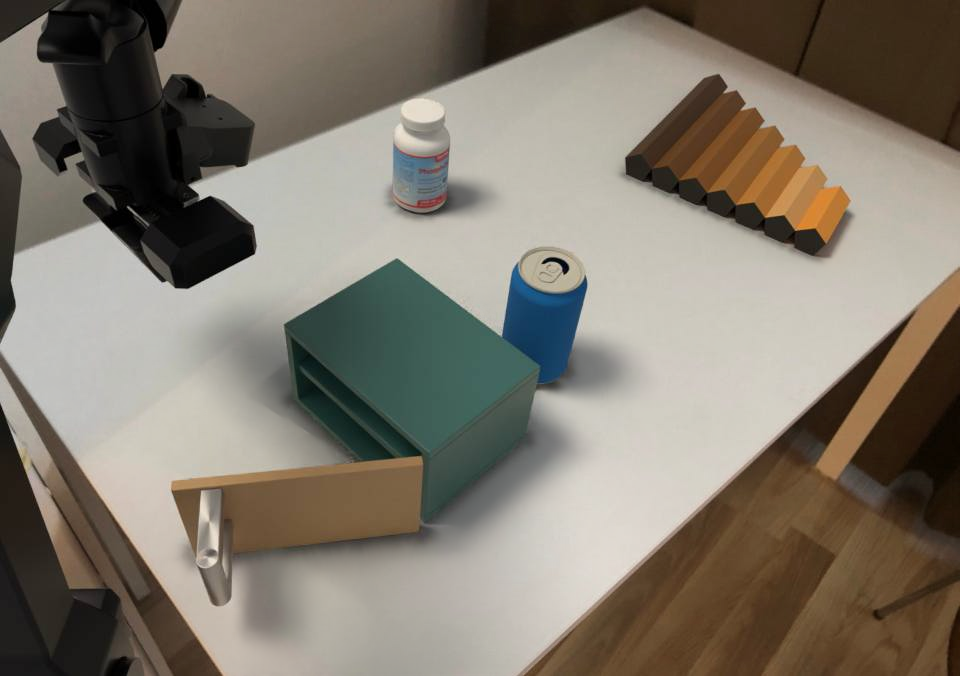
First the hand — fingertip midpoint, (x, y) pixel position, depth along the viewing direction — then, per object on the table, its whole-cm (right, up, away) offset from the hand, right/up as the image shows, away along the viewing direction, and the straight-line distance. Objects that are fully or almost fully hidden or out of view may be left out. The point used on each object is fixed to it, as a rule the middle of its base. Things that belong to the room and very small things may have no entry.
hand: (165, 277), depth 61 cm
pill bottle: (+17, +11, +29) cm, 36 cm away
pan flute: (+59, +17, +40) cm, 73 cm away
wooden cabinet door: (+12, -22, -2) cm, 25 cm away
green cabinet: (+18, -12, +8) cm, 23 cm away
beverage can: (+29, -7, +14) cm, 33 cm away
